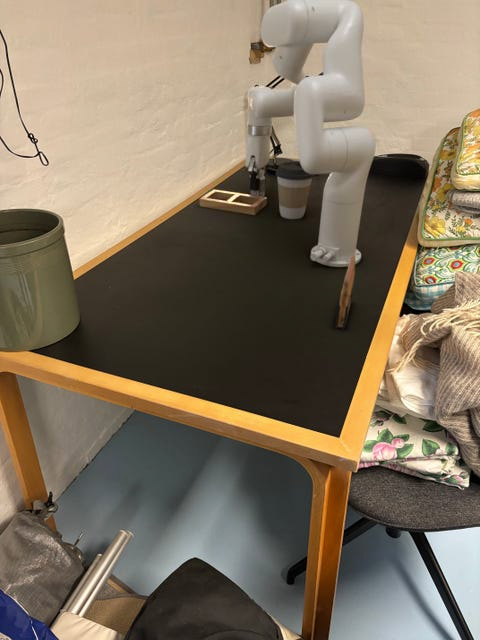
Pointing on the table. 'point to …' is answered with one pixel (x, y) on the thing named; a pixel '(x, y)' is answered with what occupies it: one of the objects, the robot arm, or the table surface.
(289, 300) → the table surface
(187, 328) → the table surface
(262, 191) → the pill bottle
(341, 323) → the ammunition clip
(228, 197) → the holder
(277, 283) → the table surface
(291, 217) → the coffee cup
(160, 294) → the table surface
